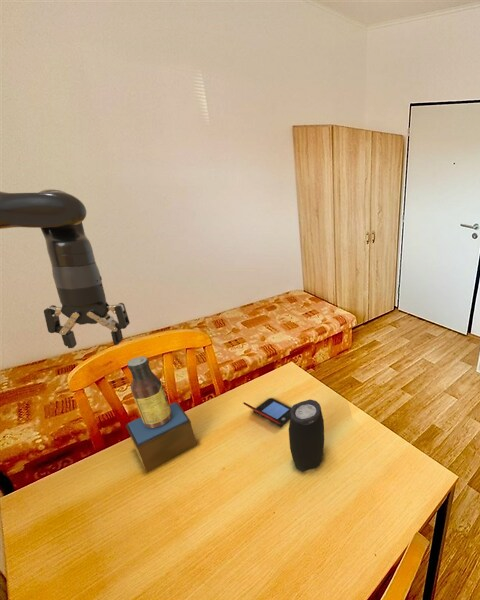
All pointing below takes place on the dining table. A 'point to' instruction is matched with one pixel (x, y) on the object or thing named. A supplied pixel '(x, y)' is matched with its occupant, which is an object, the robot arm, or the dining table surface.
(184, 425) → the blue topped brown block
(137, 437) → the mat
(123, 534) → the dining table surface
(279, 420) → the handheld console
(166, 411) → the sauce bottle
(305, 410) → the portable speaker
